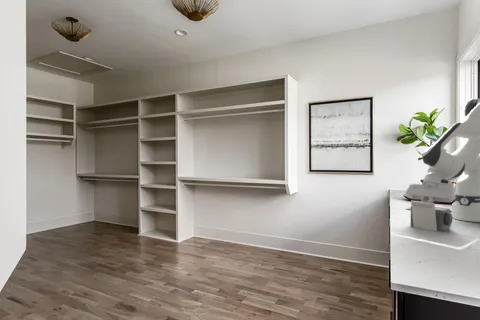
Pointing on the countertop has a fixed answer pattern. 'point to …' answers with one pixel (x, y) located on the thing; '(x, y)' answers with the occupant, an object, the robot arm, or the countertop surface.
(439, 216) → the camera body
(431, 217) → the camera door
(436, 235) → the countertop surface
